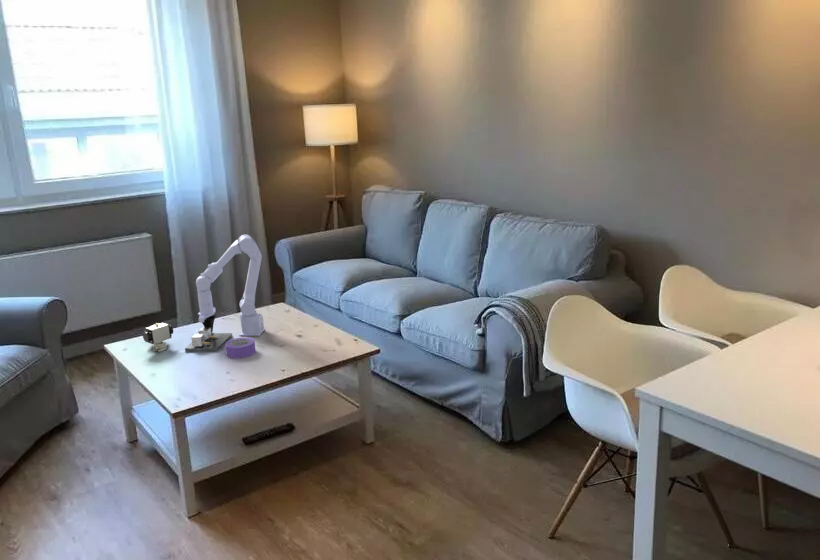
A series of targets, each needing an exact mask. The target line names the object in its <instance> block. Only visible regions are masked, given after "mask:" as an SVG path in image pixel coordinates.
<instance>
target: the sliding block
mask: <svg viewBox="0 0 820 560" xmlns="http://www.w3.org/2000/svg"><path fill="white" fill-rule="evenodd" d="M197 334H204V337H205V339H209V338H214V339H215V338H216V336H212V334H211V327H204V326H203V327H201V328H200V329H198V332H197Z"/></svg>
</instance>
